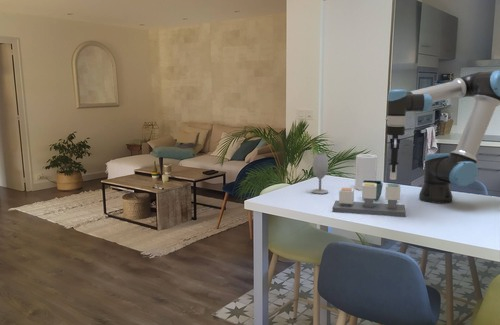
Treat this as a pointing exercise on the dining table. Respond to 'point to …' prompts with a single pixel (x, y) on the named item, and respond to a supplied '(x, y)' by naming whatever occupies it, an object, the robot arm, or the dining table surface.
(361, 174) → the cup
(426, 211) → the dining table surface
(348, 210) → the keypad
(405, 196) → the dining table surface
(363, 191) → the key mustard
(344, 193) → the key terracotta
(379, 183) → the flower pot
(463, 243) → the dining table surface
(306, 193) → the dining table surface
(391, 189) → the key teal
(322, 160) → the wineglass
